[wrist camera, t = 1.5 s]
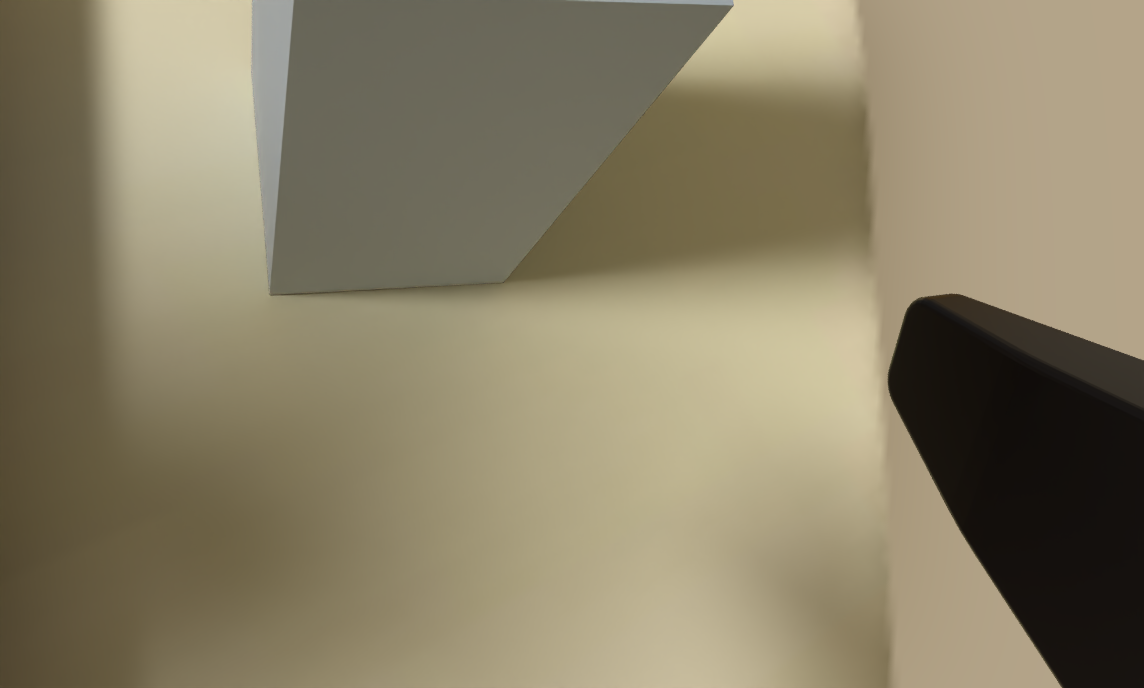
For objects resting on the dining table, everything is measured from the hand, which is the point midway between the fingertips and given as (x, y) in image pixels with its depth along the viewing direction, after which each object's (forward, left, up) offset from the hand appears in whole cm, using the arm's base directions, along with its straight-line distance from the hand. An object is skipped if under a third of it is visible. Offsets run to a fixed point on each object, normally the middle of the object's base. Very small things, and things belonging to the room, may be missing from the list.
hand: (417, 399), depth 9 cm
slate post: (+7, -2, -14) cm, 16 cm away
